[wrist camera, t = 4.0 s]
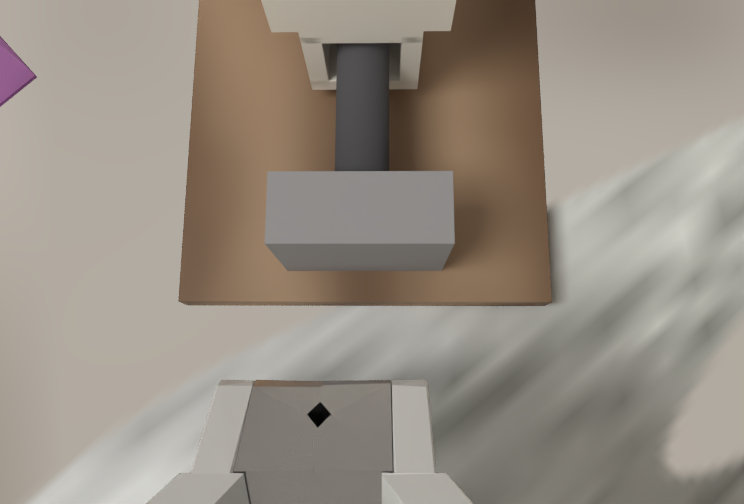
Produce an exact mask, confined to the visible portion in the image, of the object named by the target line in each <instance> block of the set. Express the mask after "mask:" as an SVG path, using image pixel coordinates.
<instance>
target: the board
mask: <svg viewBox="0 0 744 504" xmlns="http://www.w3.org/2000/svg"><path fill="white" fill-rule="evenodd" d="M335 135H336V90H312V87H311V83H310V79H309V74H308V70H307V66H306V62H305V58H304V54H303V50H302V46H301V42H300V38H299V34H298V32H271V30H270V26H269V23H268V20H267V17H266V14H265V11H264V8H263V5H262V1H261V0H199V10H198V24H197V40H196V54H195V68H194V83H193V97H192V112H191V128H190V141H189V156H188V170H187V185H186V199H185V214H184V229H183V243H182V258H181V272H180V287H179V302H181V303H184V304H186V305H352V306H545V305H547V304H549V303H551V302H552V297H551V279H550V261H549V243H548V225H547V207H546V189H545V172H544V153H543V136H542V117H541V100H540V81H539V64H538V45H537V27H536V9H535V0H456V5H455V10H454V16H453V21H452V27H451V31H424V33H423V42H422V51H421V60H420V69H419V79H418V88H417V89H389V171H453V193H454V235H455V244H454V246H453V248H452V250H451V252H450V254H449V256H448V258H447V260H446V263H445V265H444V267H443V269H442V271H287V270H286V269H285V267H284V266H283V265H282V264H281V263H280V261H279V260H278V259H277V258H276V257H275V256H274V254H273V253H272V252H271V251H270V250H269V248H268V247H267V246H266V245H265V220H266V195H267V171H335Z"/></svg>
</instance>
